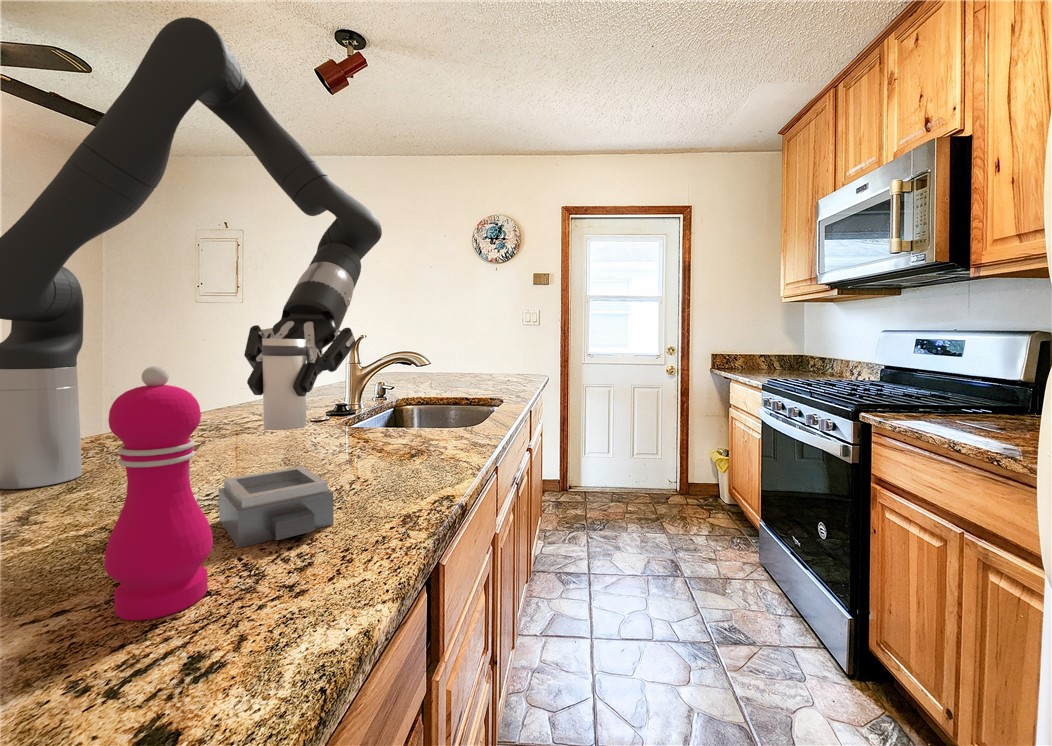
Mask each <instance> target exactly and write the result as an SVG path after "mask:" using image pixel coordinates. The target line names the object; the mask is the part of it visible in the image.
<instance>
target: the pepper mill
mask: <svg viewBox="0 0 1052 746" xmlns="http://www.w3.org/2000/svg"><path fill="white" fill-rule="evenodd" d="M169 378H170V375H169V373H168V371H167V370H166V369H165V368H164V367H162V366H159V365H158V366H157V365H155V366H154V365H153V366H149V367H147V368H145V369H144V370H143V372H142V373H141V381H142V383H144V385H142V386H136V387H134V388H131V389H129V390H127V391H125V392H123V393H122V394H120V395H118V396H117V397H116V398H115V400H114V401H113V403H112V404H111V406H110V408H109V413H108V421H107V422H108V426H109V429H110V431H111V433H112V434H113V435H114V436H115V437H117V438H118V439H119V440H121V441H122V443H123V445H122V446H120V447H119V448H118V449H117V452H118V453H119V454H120V455H119V457H120V458H119V460H118V464H119V465H120V466H122V467H125V472H126V478H127V483H126V485H127V486H126V495H125V499H124V504H123V507H122V509H121V512H120V513H119V516H118V518H117V520H116V523H115V525H114V527H113V529H112V531H111V533H110V535H109V537H108V541H107V545H106V548H105V552H104V563H103V565H104V570H105V572H106V574H107V576H109V577H110V578H111V579H113V580H114V581H116V582H118V583H120V584H119V585H118V586H117V587H116V588H115V589H114V593H113V596H114V597H113V599H114V614H115V615H116V616H117V617H118V618H120V619H121V620H125V621H131V622H132V621H133V622H134V621H135V622H136V621H138V622H139V621H148V620H154V619H159V618H163V617H166V616H169V615H173V614H176V613H178V612H180V611H182V610H185V609H187V608H189V607H191V606H193V605H194V604H196V603H197V602H199V601H200V600H201V599H202V598H203V597H204V596H205V595H206V593H207V591H208V587H209V586H208V585H209V584H208V569H207V568H206V567H205V566H203V565H202V564H203V563H204V562H205V561H206V559H208V557H209V556H210V555H211V553H212V550H213V546H214V540H213V531H212V529H211V526H210V523H209V521H208V518H207V517H206V515H205V513H204V512H203V510H202V509H201V507H200V505H199V503H198V500H197V501H196V500H195V498H196V497H195V496H194V493H193V489H192V487H191V485H192V484H191V480H190V476H189V463H190V460H191V459H192V458H194V457H195V456H196V452H195V451H194V446H195V444H196V443H195V441H194V440H192V438H191V439H190V437H191V435H192V434H193V433H194V432H195V430H197V428H198V427H199V425H200V423H201V419H202V418H201V416H202V411H201V408H200V407H201V406H200V403H199V402H198V400H197V399H196V397H195V396H194V395H193V394H192V392H189V391H188V390H186V389H184V388H182V387H180V386H176V385H175V386H174V385H169V384H167V382H168V381H169Z"/></svg>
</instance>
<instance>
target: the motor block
mask: <svg viewBox="0 0 1052 746" xmlns="http://www.w3.org/2000/svg"><path fill="white" fill-rule="evenodd" d="M218 513H219V514H218V516H219V522H220V524H221V525H222V526H224V527H223V528H224V529H225V531H226V532H227V534H228V536H230V539H232V541H233V542H234V545H236V547H237V548H238V549H242V548H246V547H249V546H253V545H256V544H257V545H258V544H261V543H266V542H270V541H273V540H275V541H280V540H283V539H287V538H288V539H289V538H292V537H296V536H299V535H303V534H307V533H311V532H315V530H317V529H321V528H326V527H329V526H334V525H333V524H334V522H335V521H334V519H335V517H334V491H332V490H330V489H329V488H328V482H327V481H326V480H324V479H323V478H322V477H320V476H318V475H316V473H313V472H312V471H310V470H308V469H307V468H306V467H304V466H297V467H296V466H295V467H291V468H285V469H278V470H272V471H266V472H261V473H253V474H247V475H242V476H235V477H229V478H224V479H223V487H220V488H218ZM325 526H326V527H325Z"/></svg>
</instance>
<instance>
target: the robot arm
mask: <svg viewBox="0 0 1052 746" xmlns="http://www.w3.org/2000/svg"><path fill="white" fill-rule="evenodd" d="M197 101H199V102H200V103H201V104H202V105H204V107H206V108H207V109H208V110H209V111H211V112H212V113H213V114H214V115H215V116H217V117H218V118H219V119H220V120H221V121H222V122H224V123H225V124H226V125H227V126H228V127H229V128H230V129H231V130H232V131H233V132H234V133H235V134H236V135H237V136H238V137H239V138H240V139H241V140H242V141H243V142H244V143H245V145H246V146H247V147H248V148H249V150H250V151H252V153H253V154H254V156H255V157H256V158H257V160H258V161H259V162H260V164H261V165H262V167H264V169H265V170H266V172H267V173H268V175H270V176H271V178H272V180H274V182H275V183H276V184H277V185H278V186H279V188H280V189H282V191H283V192H284V193H285V194H286V195H287V197H288V198H289V199H290V200H291V201H292V202H293V203H294V205H296V207H297V208H298V209H300V211H302V212H303V213H304V214H305V215H306V216H309V217H316V216H319V215H322V214H323V213H325V212H326V211H328V212H329V213H331V214H332V215H334V216H335V219H334V221H333V222H332V223H331V224H330V225H329V226H328V227H327V229H326V230H325V232H324V233H323V234H322V236H321V238H320V239H319V243H318V245H317V249H316V253H315V254H314V256H313V257H312V259H311V262H310V264H309V265H308V267H307V268H306V270H305V271H304V272H303V273H302V275H301V276H300V278H299V280H298V281H297V283H296V284H295V286H294V288H293V290H292V291H291V293H290V295H289V297H288V299H287V301H286V302H285V304H284V306H283V309H282V313H281V314H282V315H281V318H280V320H279V321H277V322H276V323H275V324H274V325H273V326H272V327H271V328H265V329H262V328H261V327H260V325H258V324H257V325H253V326H251V327H250V328H249V333H248V336H247V342H246V345H245V350H244V355H243V357H245V360H247V362H248V364H249V365H250V366H251V369H252V371H251V372H250V375H249V377H248V379H247V382H246V384H247V385H248V388H249V389H250V391H251V392H252V394H253V395H254V396H263V355H262V339H306V364H303V365H302V367H301V369H300V371H299V373H298V375H297V378H296V380H295V382H294V384H293V389H294V390H295V392H296V394H297V396H303V397H304V396H306V397H307V393H310V392H311V391H312V390H313V387H314V385H315V383H316V380H317V378H318V376H319V375H321V374H322V373H323V372H325V371H328V372H330V373H333V372H336V371H337V370H338V368H339V367H340V365H341V364H342V363H343V362H344V360H345V359H346V357H348V355H349V354H350V352H351V351H352V349H353V348H355V345H356V344H357V341H356V339H355V336H354V333H353V331H352V329H351V328H350V327H344V328H342V329H340V328H341V327H342V326H341V325H342V324H343V321H344V318H345V316H346V314H347V312H348V309H349V306H350V305H351V301H352V299H353V293H354V290H355V288H356V285H357V282H358V280H359V277H360V275H361V272H362V261H361V260H362V259H363V258H364V257H365V256H366V255H367V254H368V253H369V252H370V251H371V250H372V249H373V248H374V247H375V246H376V245H377V243H379V241H380V240H381V238H382V234H383V231H382V225H381V223H380V220H379V218H378V217H377V216H376V214H375V213H374V212H373V211H372V210H371V209H369V207H367V206H366V205H364V204H363V203H361V202H360V201H358V200H357V199H356V198H354V197H353V196H351V195H350V194H349V192H347V191H345V190H344V189H343V188H341V187H340V186H338V184H336V183H335V182H334V181H333V180H332V179H331V178H330V176H329V175H328V174H327V173H326V172H325V171H324V170H323V168H322V167H321V166H320V165H319V163H318V162H317V161H316V160H315V159H314V158H313V157H312V156H311V154H309V152H308V151H307V150H306V149H305V148H304V147H303V146H302V145H301V143H299V141H297V140H296V139H295V138H294V137H293V136H292V135H291V134H290V133H289V132H288V131H287V130H286V129H285V128H284V127H283V126H282V125H281V124H280V123H279V122H278V121H277V120H276V118H275V117H274V116H273V115H272V114H271V113H270V111H269V110H268V109H267V108H266V107H265V105H264V104H263V102H262V101H261V98H259V95H257V93H256V92H255V90H254V87H252V86H251V83H250V82H249V80H248V79H247V77H246V76H245V73H244V72H243V70H242V67H241V65H240V63H239V61H238V59H237V57H236V56H235V55H234V53H233V52H232V50H231V49H230V48H229V46H228V44H227V42H226V41H225V40H224V39H223V37H222V36H221V35H220V33H219V32H218V31H217V30H216V29H215V28H214V27H213V26H212V25H210V24H209V23H208V22H206V21H204V20H203V19H199V18H196V17H192V16H191V17H189V16H188V17H186V16H185V17H178V18H175V19H174V20H172V21H170V22H168V23H167V24H165V26H164V27H162V28H161V29H160V30H159V32H158V33H157V35H155V38H154V39H153V41H152V42H151V44H150V46H149V47H148V50H147V51H146V53H145V54H144V56H143V58H142V60H141V62H140V63H139V64H138V67H137V68H136V70H135V72H134V74H133V75H132V76H131V79H130V80H129V81H128V83H127V84H126V87H124V89H123V90H122V92H121V93H120V94H119V95H118V97H117V98H116V99H115V100H114V101H113V103H112V104H111V106H110V107H109V108H108V110H106V112H105V114H104V115H103V116H102V118H100V120H99V122H98V123H97V124H96V125H95V126H94V127H93V129H92V130H91V131H90V132H89V133H88V134H87V136H86V137H85V138H84V139H82V142H80V143H79V145H78V146H77V147H76V149H75V150H74V151H73V152H72V154H71V155H70V156H69V157H68V159H67V160H66V162H65V163H64V164H63V166H62V167H61V169H60V170H59V172H58V173H57V174H56V176H54V177H53V178H52V180H51V182H50V183H48V185H47V186H46V188H44V190H42V192H41V193H40V194H39V195H38V197H37V198H36V199H35V200H34V202H33V203H32V204H30V207H29V208H27V210H26V211H25V212H24V213H23V215H22V216H20V217H19V219H18V220H16V221H15V223H14V224H12V226H11V227H10V228H8V230H6V231H5V232H4V233H3V234H2V235H1V236H0V320H5V321H6V320H7V321H11V322H10V323H11V324H10V325H11V326H10V333H9V334H8V336H7V337H6V338H5V339H4V340H2V341H1V342H0V489H1V490H18V489H20V490H21V489H31V488H40V487H46V486H51V485H55V484H60V483H64V482H69V481H72V480H75V479H78V478H79V477H81V476H83V475H82V474H83V470H82V469H83V467H82V466H83V465H82V443H81V442H82V440H81V422H80V421H81V420H80V417H81V416H80V399H79V385H78V384H79V382H78V380H79V379H78V361H77V360H78V355H79V353H80V351H81V349H82V345H83V342H84V309H85V308H84V295H83V290H82V286H81V284H80V281H79V280H78V278H77V277H76V275H75V274H74V273H73V272H72V271H71V270H69V269H68V268H67V267H64V265H65V264H66V262H68V260H69V259H70V258H71V257H72V256H73V254H75V252H77V251H78V250H79V249H80V248H81V247H82V246H84V245H85V244H87V243H88V242H90V241H92V240H93V239H95V238H96V237H98V236H100V235H103V234H104V233H106V232H108V231H109V230H112V229H113V228H115V227H117V226H119V225H120V224H121V223H124V222H125V221H127V220H128V219H129V218H131V217H132V216H133V215H134V214H136V212H137V211H138V210H140V209H141V208H142V206H143V205H144V203H145V202H146V201H147V200H148V198H149V197H150V196H151V194H152V193H153V192H154V191H155V189H156V188H157V186H158V185H159V183H160V182H161V180H162V179H163V176H164V175H165V171H166V169H167V166H168V162H169V159H170V154H171V148H172V143H173V141H174V137H175V134H176V132H177V129H178V126H179V125H180V123H181V121H182V120H183V118H184V117H185V115H186V114H187V113H188V112H189V111H190V109H191V108H192V107H193V106H194V104H195V103H196V102H197ZM327 346H328V347H327ZM326 347H327V349H326V350H325V351H323V349H325V348H326Z"/></svg>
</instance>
